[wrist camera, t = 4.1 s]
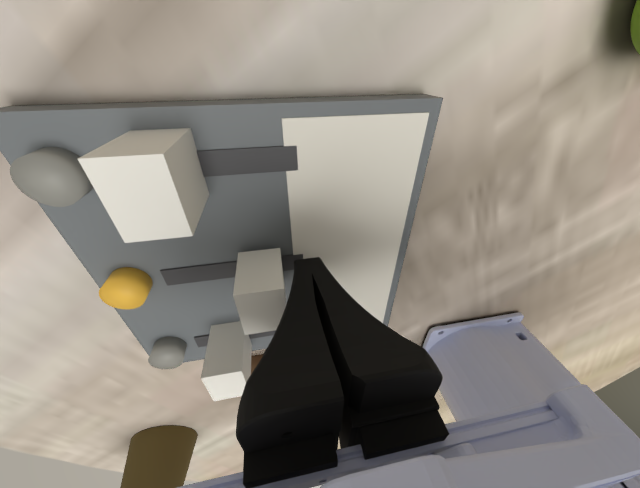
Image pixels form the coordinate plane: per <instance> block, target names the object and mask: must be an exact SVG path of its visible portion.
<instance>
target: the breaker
mask: <svg viewBox="0 0 640 488" xmlns="http://www.w3.org/2000/svg"><path fill="white" fill-rule="evenodd" d="M233 297H234V301H235V304H236V307H237V311H238V314H239V317H240V321H241V324H242V327H243V331H244V334H245V335H249V334H256V333H262V332H268V331H274V330H276V329H277V327H278V325H279V323H280V320H281V318H282V315H283V313H284V310H285V307H286V304H287V303H286V293H285V284H284V276H283V267H282V259H281V251H280V248H274V249H265V250H256V251H247V252H238V258H237V267H236V275H235V283H234V291H233Z"/></svg>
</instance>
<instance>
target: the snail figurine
mask: <svg viewBox="0 0 640 488" xmlns="http://www.w3.org/2000/svg"><path fill="white" fill-rule="evenodd" d="M631 39H632V42H633V45H634V47H635V49H636V51H637V52H638V54H639V55H640V0H637V1H636V4H635V7H634V10H633V13H632V18H631Z"/></svg>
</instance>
